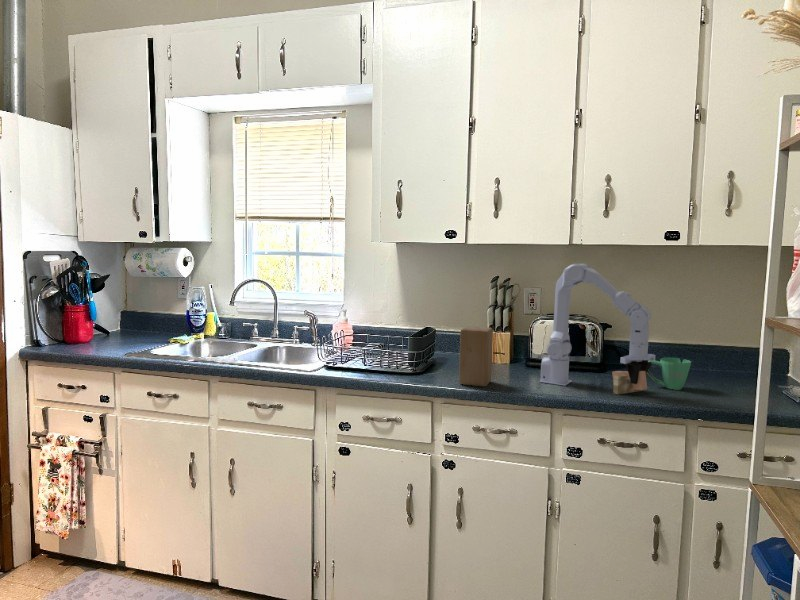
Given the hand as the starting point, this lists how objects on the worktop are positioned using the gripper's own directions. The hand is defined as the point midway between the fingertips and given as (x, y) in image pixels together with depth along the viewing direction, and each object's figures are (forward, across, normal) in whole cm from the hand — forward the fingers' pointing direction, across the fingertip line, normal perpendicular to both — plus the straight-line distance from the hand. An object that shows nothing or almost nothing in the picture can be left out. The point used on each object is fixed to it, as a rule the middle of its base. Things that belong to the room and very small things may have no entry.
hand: (636, 382), depth 190 cm
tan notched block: (+4, 0, +4) cm, 5 cm away
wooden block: (+4, -41, +35) cm, 54 cm away
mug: (+4, +18, +2) cm, 19 cm away
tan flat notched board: (+3, 0, +2) cm, 4 cm away
